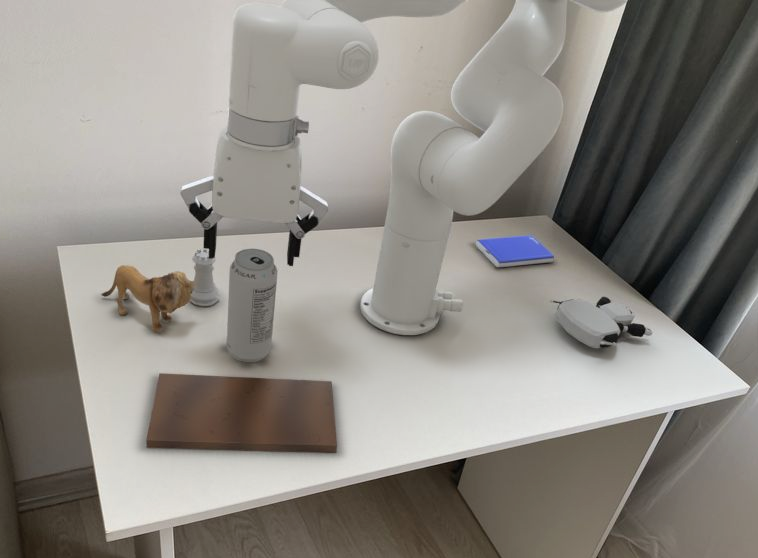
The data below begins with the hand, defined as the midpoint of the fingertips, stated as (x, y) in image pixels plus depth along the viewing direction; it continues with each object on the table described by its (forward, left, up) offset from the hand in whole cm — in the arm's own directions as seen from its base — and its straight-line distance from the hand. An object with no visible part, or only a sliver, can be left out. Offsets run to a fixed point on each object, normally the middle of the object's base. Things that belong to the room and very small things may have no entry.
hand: (251, 256), depth 92 cm
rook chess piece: (+7, -12, -16) cm, 21 cm away
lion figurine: (+14, -7, -16) cm, 22 cm away
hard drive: (-48, -34, -16) cm, 61 cm away
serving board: (0, +13, -15) cm, 20 cm away
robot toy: (-56, -10, -16) cm, 59 cm away
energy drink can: (0, 0, -16) cm, 16 cm away
